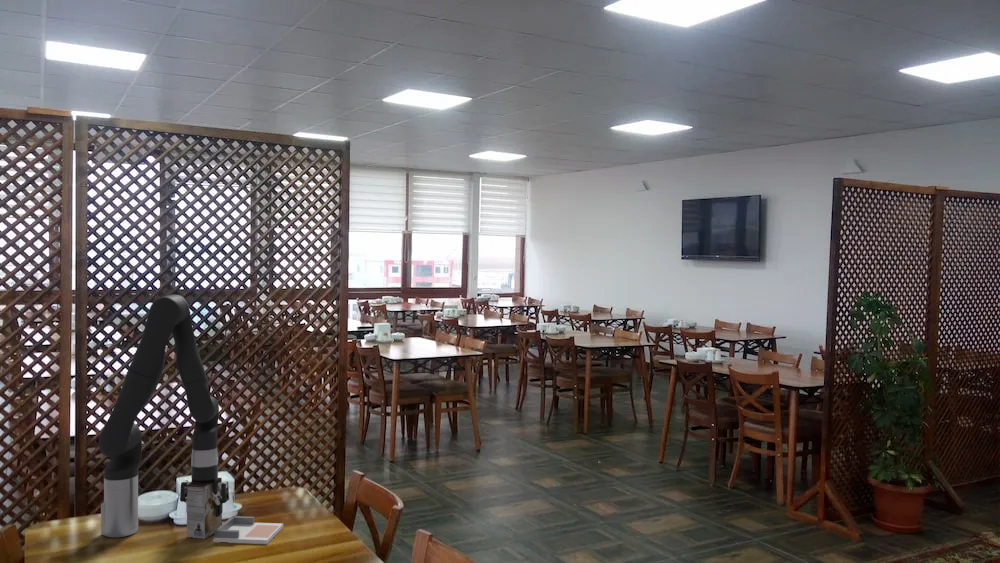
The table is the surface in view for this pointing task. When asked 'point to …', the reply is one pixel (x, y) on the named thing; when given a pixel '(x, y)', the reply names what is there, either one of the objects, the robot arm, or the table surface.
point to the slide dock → (246, 531)
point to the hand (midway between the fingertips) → (204, 515)
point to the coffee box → (202, 510)
